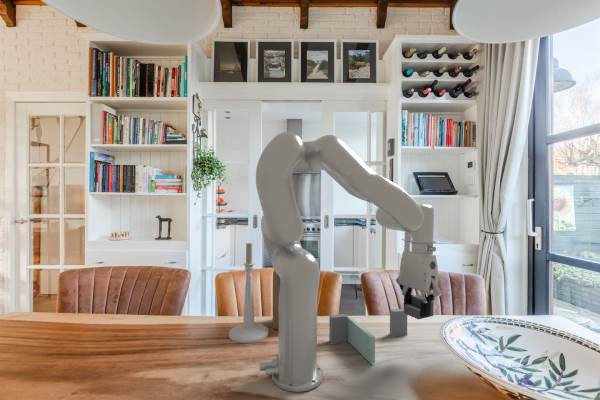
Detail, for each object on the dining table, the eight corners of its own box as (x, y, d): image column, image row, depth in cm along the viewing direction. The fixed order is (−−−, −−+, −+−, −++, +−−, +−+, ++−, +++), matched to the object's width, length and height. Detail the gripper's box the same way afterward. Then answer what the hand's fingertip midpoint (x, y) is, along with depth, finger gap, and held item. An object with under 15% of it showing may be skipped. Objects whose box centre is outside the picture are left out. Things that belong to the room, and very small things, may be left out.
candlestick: (261, 344, 91) (262, 245, 91) (222, 340, 93) (222, 244, 93) (272, 326, 104) (273, 239, 104) (237, 323, 106) (238, 238, 106)
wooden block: (302, 330, 101) (302, 271, 101) (272, 330, 101) (272, 270, 101) (302, 319, 111) (302, 264, 111) (275, 318, 111) (275, 264, 111)
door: (345, 338, 94) (345, 316, 94) (349, 337, 95) (349, 315, 95) (370, 363, 80) (370, 337, 80) (375, 362, 80) (375, 336, 80)
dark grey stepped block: (418, 310, 88) (418, 294, 88) (433, 316, 84) (433, 299, 84) (403, 313, 86) (404, 297, 86) (418, 319, 81) (419, 302, 81)
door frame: (331, 343, 92) (331, 317, 92) (329, 340, 94) (329, 315, 94) (407, 335, 98) (407, 310, 98) (403, 332, 100) (403, 308, 100)
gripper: (455, 252, 79) (453, 321, 79) (404, 243, 94) (402, 301, 94) (436, 253, 75) (434, 326, 75) (386, 244, 90) (384, 305, 90)
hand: (416, 312), depth 84 cm, fingers closed on dark grey stepped block, 5 cm apart
